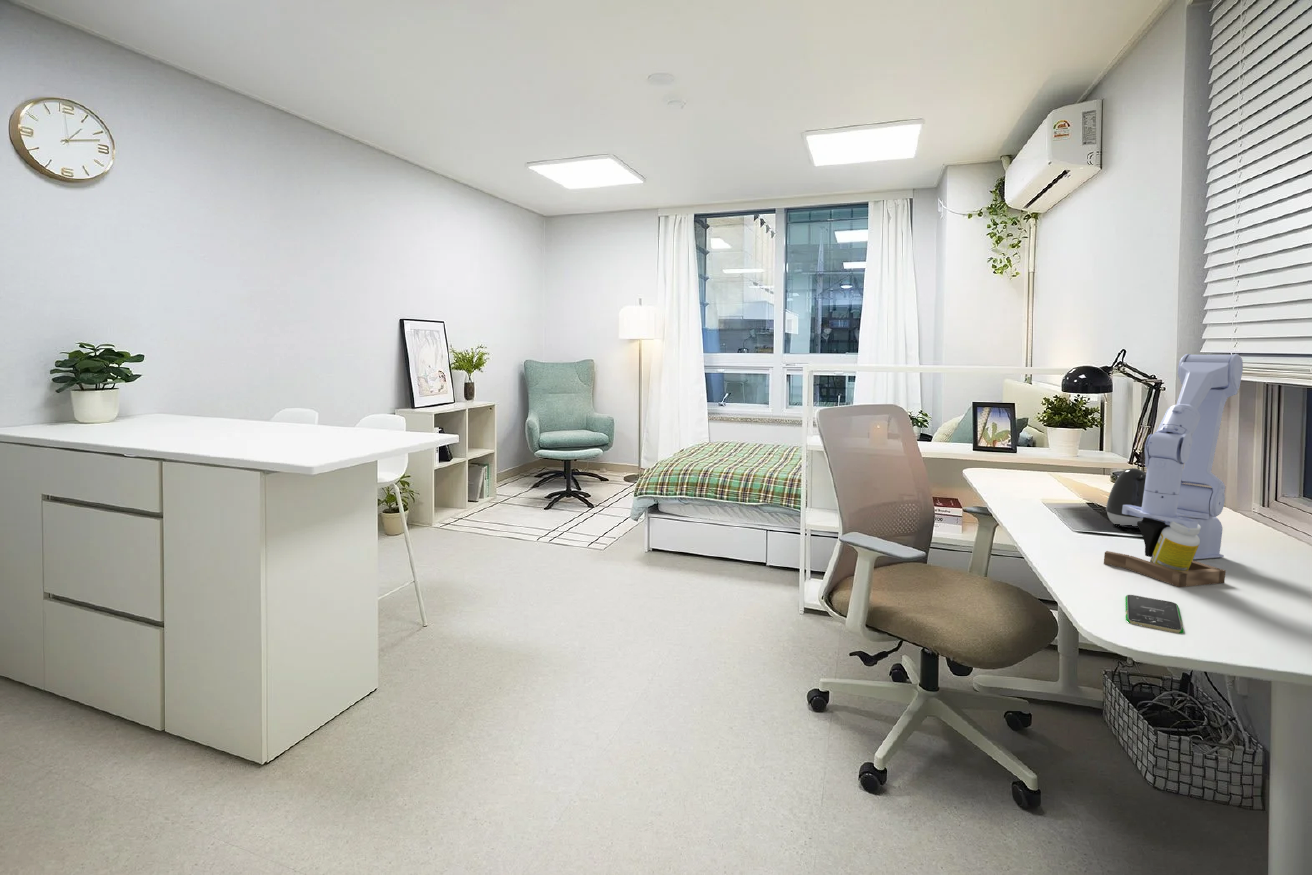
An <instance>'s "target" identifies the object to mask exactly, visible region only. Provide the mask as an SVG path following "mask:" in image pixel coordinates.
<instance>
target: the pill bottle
mask: <svg viewBox="0 0 1312 875" xmlns="http://www.w3.org/2000/svg"><path fill="white" fill-rule="evenodd" d="M1178 518H1180V517H1178ZM1200 529H1201V526H1200V525H1199V524H1198V526H1197V528H1187V527H1186V526H1184V525H1183V524H1179V523H1176V522H1174V521H1173V522H1170V527H1166V528H1164V529H1163V530H1162V532H1161V534H1160V537H1159V540H1158V542H1157V544H1156V547H1155V549H1154V552H1153V555H1152V557H1150V560H1149V562H1152V563H1155V564H1158V565H1161V566H1164V567H1167V568H1171V569H1174V570H1177V571H1188V570H1189V567H1190V565H1191V563H1192V560H1193V561H1194V559H1193V558H1194V556H1195V553H1196V551H1197V548H1198V546H1199V543H1200V539H1199V537H1198V536H1197V534H1198V533H1199V531H1200ZM1188 530H1189V531H1188Z"/></svg>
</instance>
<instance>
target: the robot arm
mask: <svg viewBox="0 0 1312 875" xmlns="http://www.w3.org/2000/svg"><path fill="white" fill-rule="evenodd" d="M1243 362H1244V361H1243V359H1242V357H1241V356H1240V355H1239V354H1238V353H1234V354H1191V353H1185V354H1184V355H1183V356H1181V358H1180V359H1179V361H1178V367H1177V376H1178V379H1179V381H1180V385H1181V389H1180V392H1179V395H1178V398H1177V402H1176V404H1174V405H1171V406H1169V407H1167V408H1166V410H1165V414H1164V415H1163V417H1162V419H1161V421H1160V423H1159V425H1158V427H1157V430H1156V431H1155V432H1153V433H1150V434H1148V436H1147V438H1146V439H1145V440H1146V441H1145V444H1144V458H1145V459H1144V467H1145V468H1146V472H1145V474H1146V480H1145V487H1144V495H1143V502H1142V507H1138V506H1133V505H1123V508H1122V514H1126V515H1132V516H1136V517H1140V518H1143V520H1142V521H1138V522H1137V525H1138V527H1139V529H1138V530H1139V531H1140V534H1141V536H1142V539H1143V542H1144V556H1146V557H1149V558H1151V557H1152V555H1153V552H1154V549H1155V547H1156V544H1157V542H1158V540H1159V537H1160V534H1161V532H1162V530H1163V529H1164V528H1166V527H1170V522H1173V521H1174V522H1176V523H1179V524H1183V525H1184V526H1186V527H1187V528H1197V526H1198V524H1199V525H1200V526H1201V529H1200V531H1199V533H1198V534H1197V536H1198V537H1199V539H1200V543H1199V546H1198V548H1197V551H1196V553H1195V556H1194V558H1193V560H1205V559H1206V560H1207V559H1216V558H1224V554H1221V546H1222V536H1223V525H1222V522H1221V521H1220V519H1219V518H1217V517H1218V516H1220V515H1221V514H1222V512H1223V510H1224V505H1225V499H1226V497H1225V489H1226V486H1225V483H1224V482H1223V480H1221V479H1220V478H1219V477H1218V476H1216V475H1215V474H1214V473H1213V472H1212V469H1213V464H1214V458H1215V453H1216V449H1217V444H1218V439H1219V433H1220V427H1221V423H1222V417H1223V413H1224V409H1225V408H1224V407H1225V406H1226V403H1227V400H1228V398H1230V397H1233V396H1235V395H1237V394H1238V393H1239V392H1238V391H1239V389H1240V386H1241V381H1242V377H1243V372H1244V367H1243V366H1244V365H1243V364H1244V363H1243ZM1193 484H1194V485H1193ZM1178 517H1180V518H1178ZM1188 531H1189V530H1188Z"/></svg>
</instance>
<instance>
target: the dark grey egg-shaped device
mask: <svg viewBox="0 0 1312 875" xmlns="http://www.w3.org/2000/svg"><path fill="white" fill-rule="evenodd" d="M1145 480H1146V472H1144V471H1143V470H1141V469H1139V468H1135V467H1132V468H1126V469H1125V470H1123V471H1122V472H1121V473H1120V474H1119V475H1118V476H1117V478H1116V480H1115V481H1114V483H1113V486H1112V488H1111V490H1110V491H1109V492H1110V493H1109V495H1108V499H1107V502H1106V507H1105V511H1106V513H1107V517H1108V519H1109V521H1110V522H1111V523H1112V524H1114V525H1115V524H1120V525H1132V526H1138V525H1137V522H1138V521H1142V520H1143V518H1140V517H1136V516H1132V515H1126V514H1122V508H1123V505H1133V506H1138V507H1142V502H1143V495H1144V487H1145Z"/></svg>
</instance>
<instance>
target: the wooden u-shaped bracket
mask: <svg viewBox="0 0 1312 875" xmlns="http://www.w3.org/2000/svg"><path fill="white" fill-rule="evenodd" d="M1103 558H1104V559H1103V564H1104V565H1107V566H1112V567H1117V568H1123V569H1126V570H1129V571H1132V572H1135V573H1137V574H1141V575H1143V576H1147V577H1149V578H1153V579H1156V580H1159V581H1160V582H1165V583H1167V584H1169V585H1173V586H1175V587H1178V588H1183V587H1194V586H1195V587H1196V586H1204V585H1206V586H1207V585H1216V584H1218V585H1219V584H1225V581H1226V573H1227V572H1226V571H1227V570H1225V569H1222V568H1218V567H1215V566H1212V565H1209V564H1205V563H1202V562H1200V561H1196V560H1194V559H1193V560H1192V563H1191V565H1190V567H1189V570H1188V571H1177V570H1174V569H1171V568H1167V567H1164V566H1161V565H1158V564H1155V563H1152V562H1150V560H1149V561H1148V560H1146V559H1144V558H1143V559H1142V558H1139V557H1136V556H1134V555H1129V554H1124V553H1120V552H1115V551H1109V550H1106V551H1105V552H1104V557H1103Z"/></svg>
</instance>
